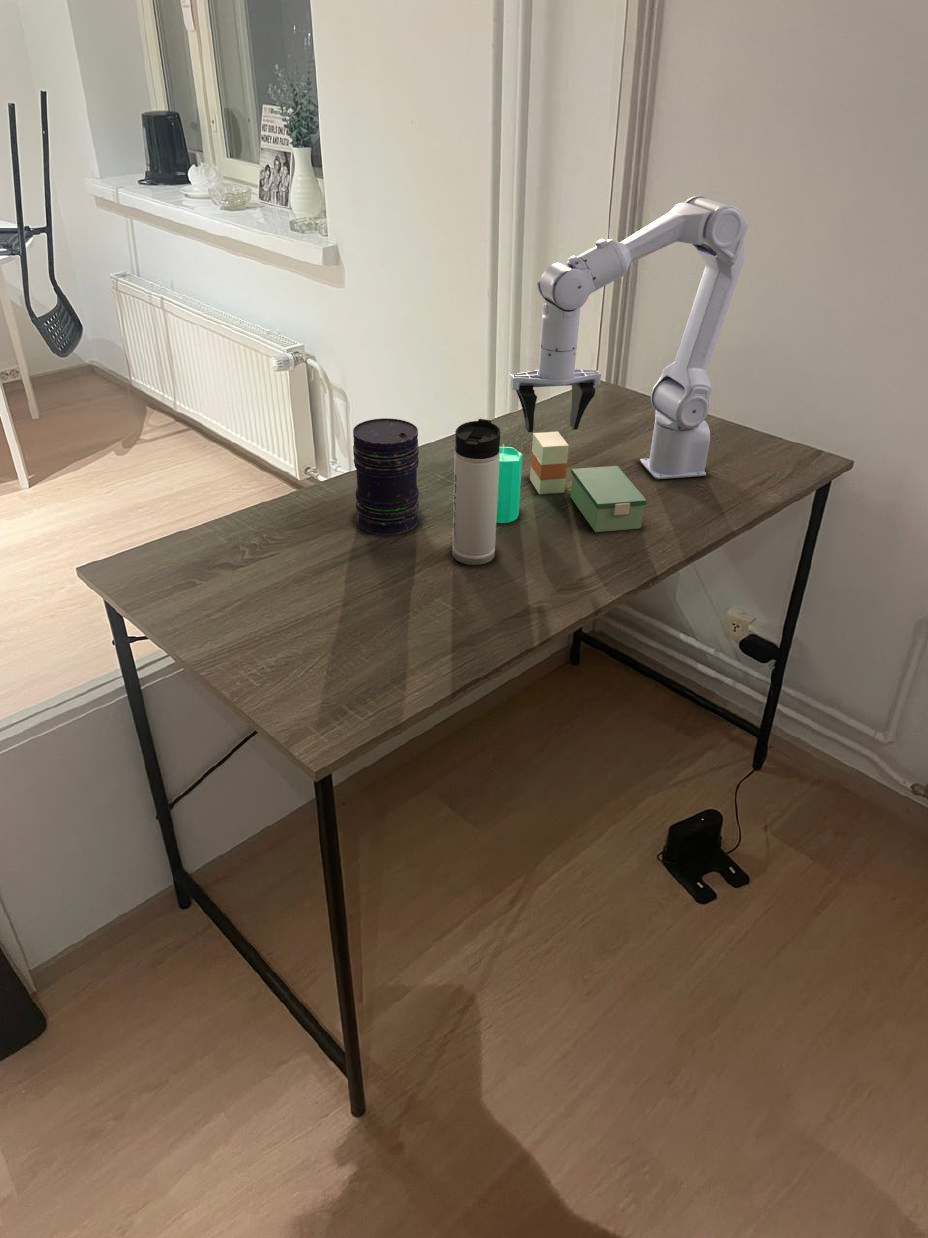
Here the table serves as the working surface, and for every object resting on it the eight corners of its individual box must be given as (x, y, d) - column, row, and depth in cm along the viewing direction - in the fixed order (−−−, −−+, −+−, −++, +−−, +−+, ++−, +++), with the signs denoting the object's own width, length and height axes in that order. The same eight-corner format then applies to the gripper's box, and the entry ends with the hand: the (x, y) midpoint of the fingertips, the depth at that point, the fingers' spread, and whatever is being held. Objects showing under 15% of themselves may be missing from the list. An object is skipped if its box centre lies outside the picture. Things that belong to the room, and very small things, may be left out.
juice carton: (554, 477, 158) (558, 431, 153) (564, 492, 153) (569, 445, 148) (529, 479, 157) (532, 432, 152) (539, 494, 152) (542, 447, 147)
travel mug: (500, 548, 137) (507, 421, 125) (487, 569, 131) (493, 439, 120) (461, 540, 138) (464, 415, 127) (446, 561, 133) (448, 432, 122)
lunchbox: (613, 492, 154) (616, 464, 151) (643, 529, 143) (647, 501, 140) (568, 495, 152) (570, 468, 149) (594, 533, 141) (598, 504, 138)
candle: (492, 526, 142) (496, 454, 136) (474, 510, 147) (477, 440, 140) (525, 518, 145) (530, 448, 138) (506, 503, 149) (510, 434, 142)
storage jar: (344, 526, 141) (339, 435, 133) (376, 501, 149) (373, 413, 140) (400, 540, 138) (399, 448, 129) (430, 514, 145) (430, 425, 137)
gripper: (594, 336, 146) (585, 417, 154) (507, 340, 144) (502, 421, 151) (609, 350, 141) (599, 433, 148) (518, 354, 138) (513, 438, 145)
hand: (551, 428), depth 149 cm, fingers open, 7 cm apart
